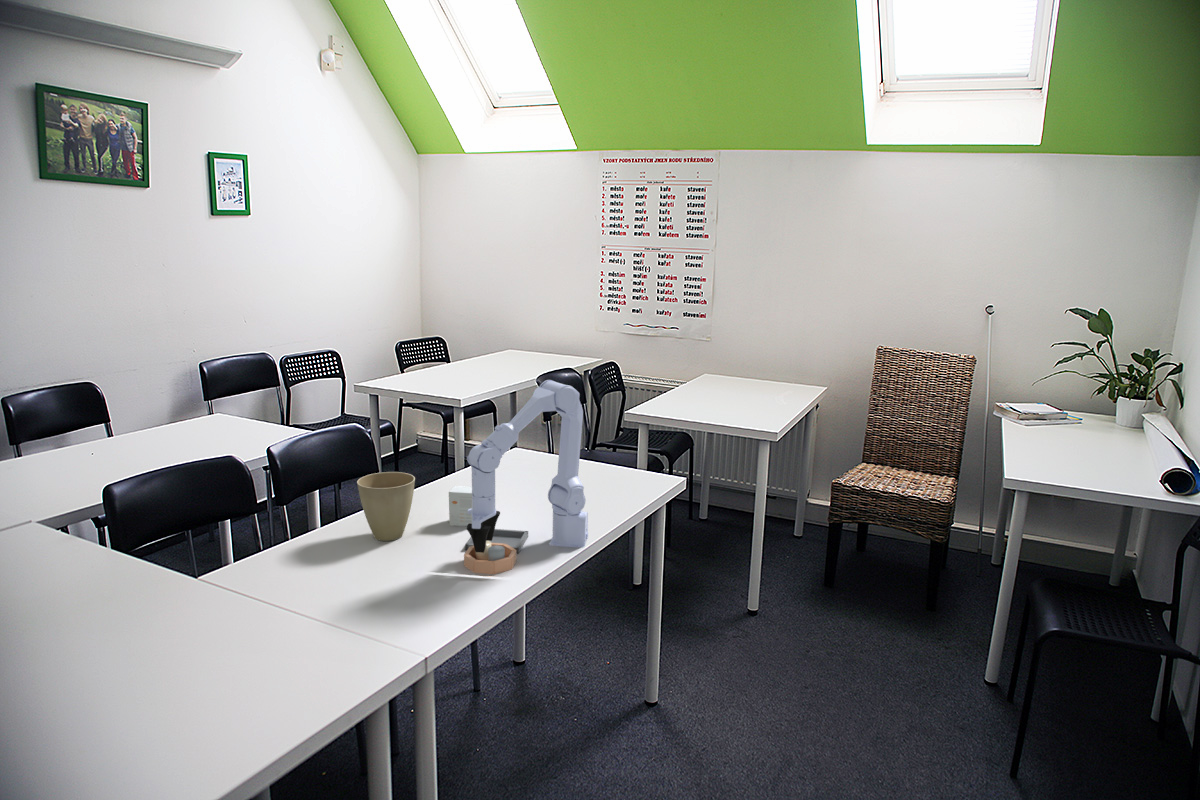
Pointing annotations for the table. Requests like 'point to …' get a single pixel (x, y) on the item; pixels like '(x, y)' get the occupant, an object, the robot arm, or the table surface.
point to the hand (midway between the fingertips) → (484, 545)
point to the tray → (506, 538)
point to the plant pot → (387, 502)
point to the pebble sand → (483, 555)
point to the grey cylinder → (496, 553)
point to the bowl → (490, 566)
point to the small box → (460, 505)
